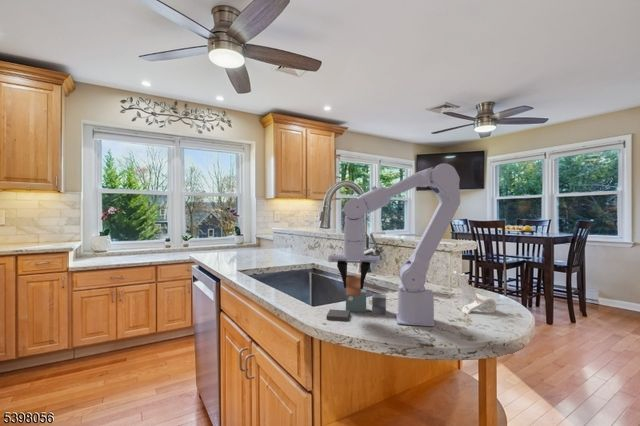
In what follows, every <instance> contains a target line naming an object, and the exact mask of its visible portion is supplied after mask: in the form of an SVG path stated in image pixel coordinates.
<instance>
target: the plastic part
mask: <svg viewBox="0 0 640 426" xmlns="http://www.w3.org/2000/svg"><path fill="white" fill-rule="evenodd" d="M457 272H458V271H457V270H454V271H453V274H454V277H455V278H456V279H455V280H456V281H457V282H458V284H459V287H460V288H461V290H462V293H463V294H464V296H465V298H466V300H467V302H468V304H465V305H463V307H462V309H461V312H462V313H463V314H467V315H469V314H470V313H472V311H474V310H476V309H478V310H480V311H482V312H484V313H488V314H491V313H494V312H495V311H496V309H497V302H496V300H494V299H493V298H490V297H487V296H485V295H482V294H479V293H477V292H476V291H474V288H473V287H472V285H471V284H469V283H468V282H469V279H468V277H467V276H466V273H465V272H463V273H459V274H458V273H457Z"/></svg>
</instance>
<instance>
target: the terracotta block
mask: <svg viewBox="0 0 640 426" xmlns="http://www.w3.org/2000/svg"><path fill="white" fill-rule="evenodd" d="M346 295H356V296H360V295H361V274H347V277H346V288H345V296H346Z"/></svg>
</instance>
